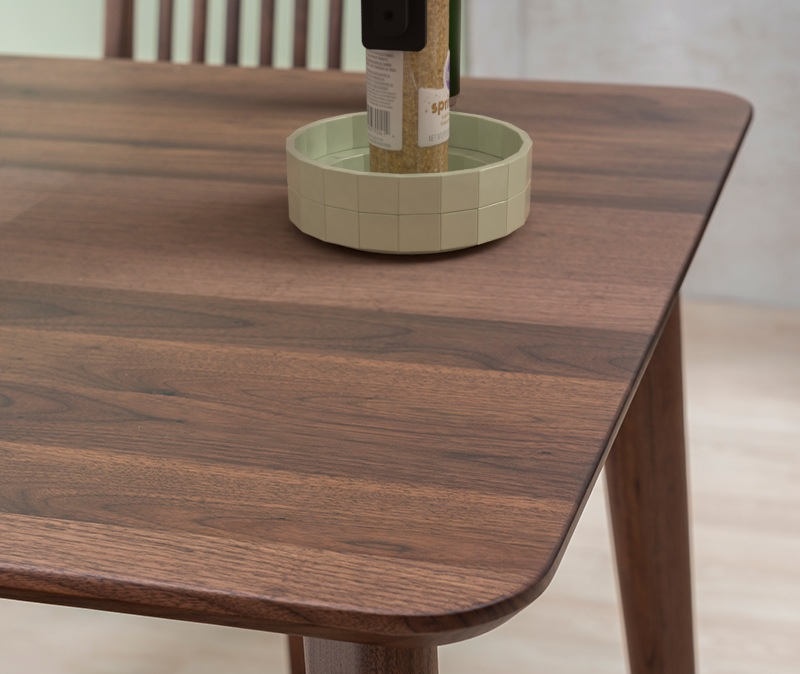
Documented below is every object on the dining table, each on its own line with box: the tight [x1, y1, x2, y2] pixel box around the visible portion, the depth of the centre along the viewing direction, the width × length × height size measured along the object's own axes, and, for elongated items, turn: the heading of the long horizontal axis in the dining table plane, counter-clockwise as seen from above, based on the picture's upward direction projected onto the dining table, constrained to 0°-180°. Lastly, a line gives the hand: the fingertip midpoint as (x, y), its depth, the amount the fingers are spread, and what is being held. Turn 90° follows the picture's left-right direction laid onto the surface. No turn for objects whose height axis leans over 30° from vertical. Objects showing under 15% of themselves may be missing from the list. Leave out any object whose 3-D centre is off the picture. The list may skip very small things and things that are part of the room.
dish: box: [285, 110, 534, 255], centre depth 68 cm, size 13×13×4 cm
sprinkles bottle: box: [365, 0, 450, 174], centre depth 65 cm, size 5×5×13 cm
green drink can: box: [448, 0, 462, 107], centre depth 90 cm, size 5×5×12 cm
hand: (406, 34), depth 64 cm, fingers closed on sprinkles bottle, 4 cm apart
